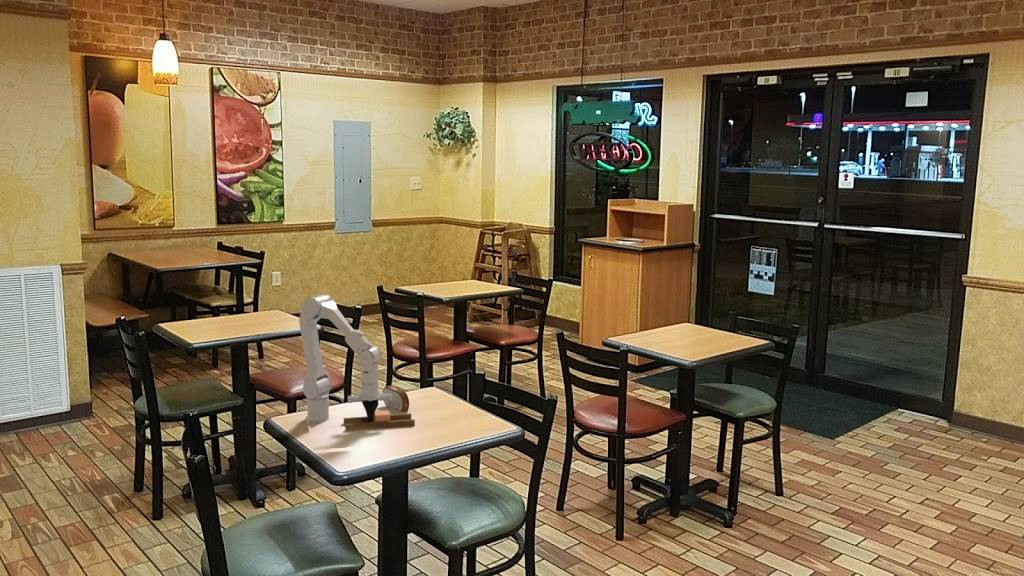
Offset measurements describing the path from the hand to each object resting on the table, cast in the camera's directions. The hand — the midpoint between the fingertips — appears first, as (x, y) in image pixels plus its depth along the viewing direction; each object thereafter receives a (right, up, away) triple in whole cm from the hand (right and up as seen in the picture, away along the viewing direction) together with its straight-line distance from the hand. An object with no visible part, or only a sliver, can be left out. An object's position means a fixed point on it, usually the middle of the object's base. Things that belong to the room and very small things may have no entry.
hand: (370, 421), depth 276 cm
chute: (+3, -2, +1) cm, 4 cm away
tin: (+5, 0, +22) cm, 23 cm away
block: (+4, -1, +1) cm, 4 cm away
